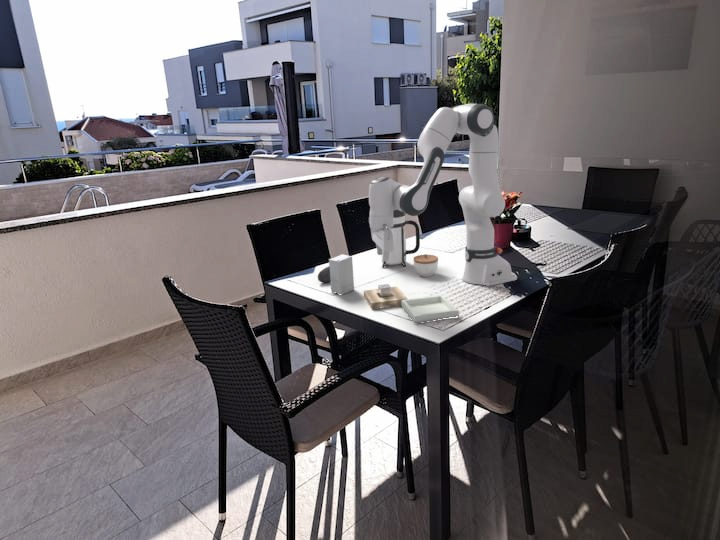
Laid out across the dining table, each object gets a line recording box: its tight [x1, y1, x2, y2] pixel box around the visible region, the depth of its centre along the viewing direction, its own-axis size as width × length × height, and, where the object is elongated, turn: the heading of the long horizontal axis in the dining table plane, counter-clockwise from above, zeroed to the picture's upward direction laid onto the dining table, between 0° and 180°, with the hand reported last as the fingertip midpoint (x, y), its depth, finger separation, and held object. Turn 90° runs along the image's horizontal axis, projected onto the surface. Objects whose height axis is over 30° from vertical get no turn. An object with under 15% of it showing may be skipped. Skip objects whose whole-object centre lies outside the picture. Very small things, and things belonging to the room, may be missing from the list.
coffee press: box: [380, 210, 421, 269], centre depth 231 cm, size 17×16×30 cm
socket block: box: [363, 286, 409, 310], centre depth 191 cm, size 14×14×2 cm
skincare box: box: [328, 253, 355, 295], centre depth 201 cm, size 8×6×15 cm
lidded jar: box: [413, 253, 439, 278], centre depth 217 cm, size 11×11×9 cm
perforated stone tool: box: [317, 265, 331, 283], centre depth 217 cm, size 15×5×7 cm, turn 127°
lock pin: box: [377, 283, 392, 298], centre depth 190 cm, size 4×4×6 cm
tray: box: [401, 294, 460, 324], centre depth 177 cm, size 16×16×3 cm
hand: (382, 257), depth 186 cm, fingers open, 8 cm apart
